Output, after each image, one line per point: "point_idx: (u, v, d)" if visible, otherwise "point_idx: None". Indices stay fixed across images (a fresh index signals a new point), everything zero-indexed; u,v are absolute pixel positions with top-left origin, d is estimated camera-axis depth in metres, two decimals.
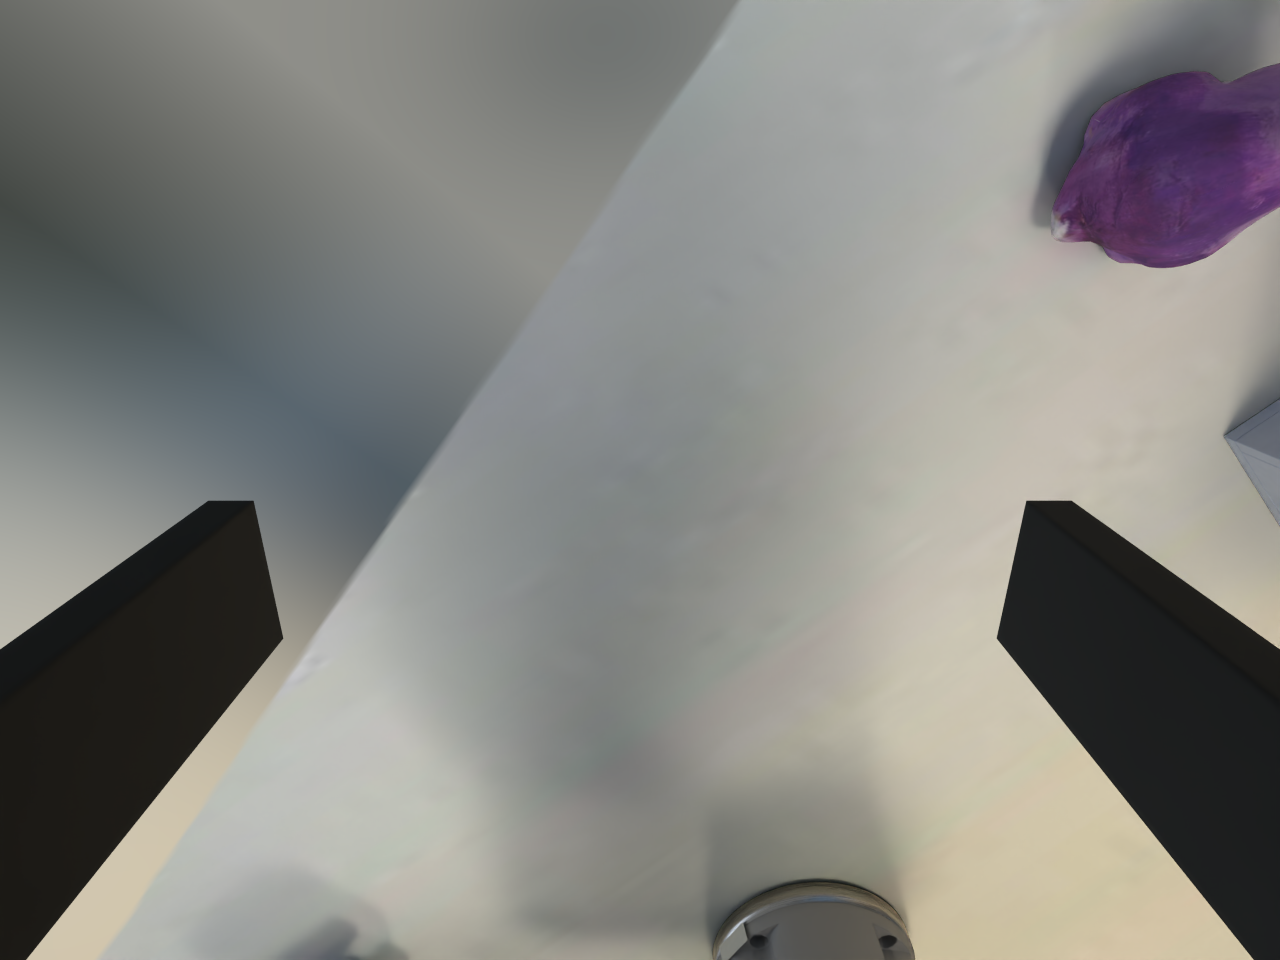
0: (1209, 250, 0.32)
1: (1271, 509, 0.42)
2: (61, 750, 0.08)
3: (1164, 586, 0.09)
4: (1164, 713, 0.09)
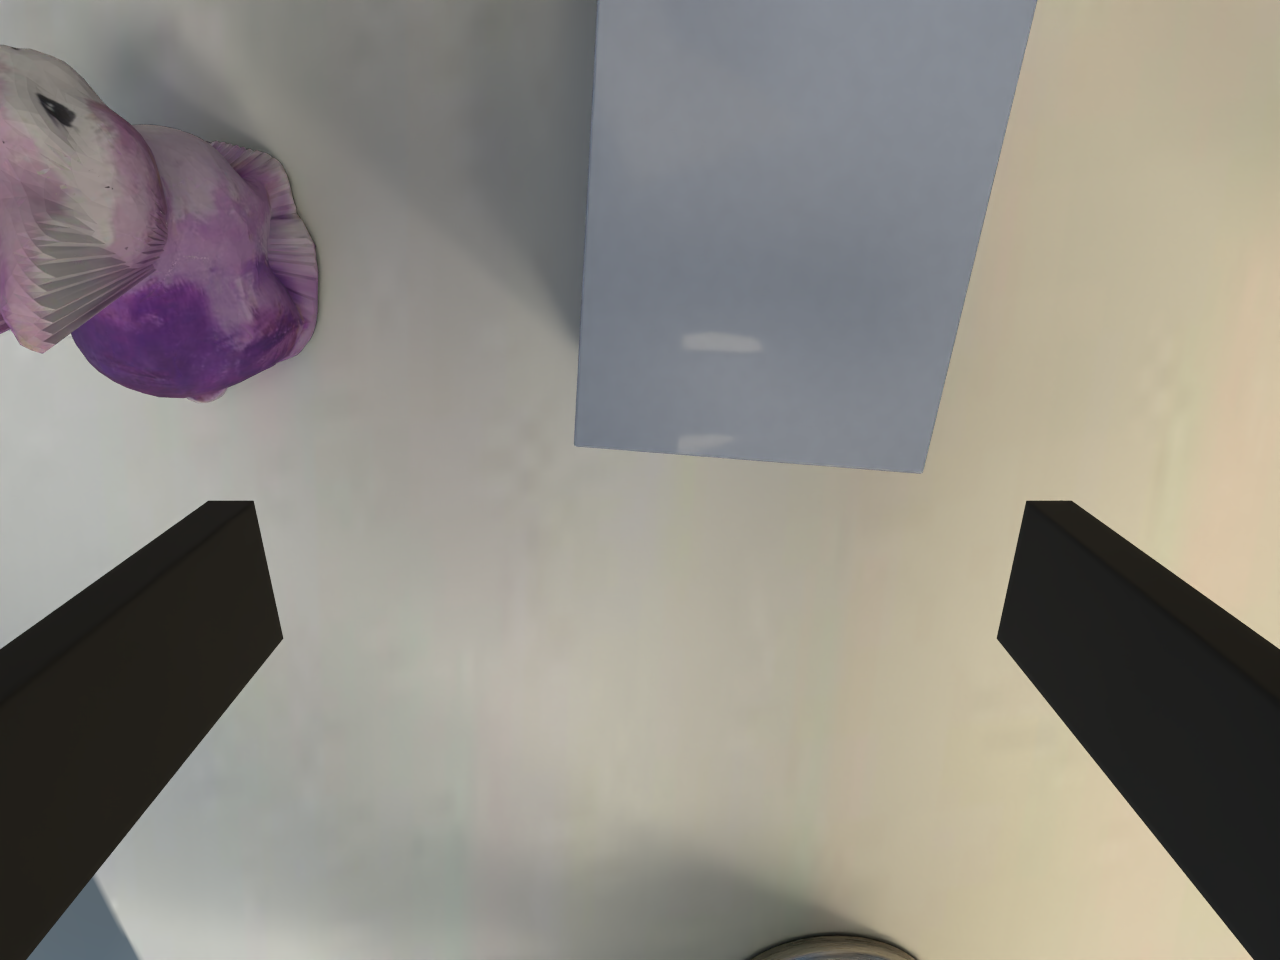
0: (240, 343, 0.27)
1: None
2: (61, 750, 0.08)
3: (1164, 586, 0.09)
4: (1164, 712, 0.09)
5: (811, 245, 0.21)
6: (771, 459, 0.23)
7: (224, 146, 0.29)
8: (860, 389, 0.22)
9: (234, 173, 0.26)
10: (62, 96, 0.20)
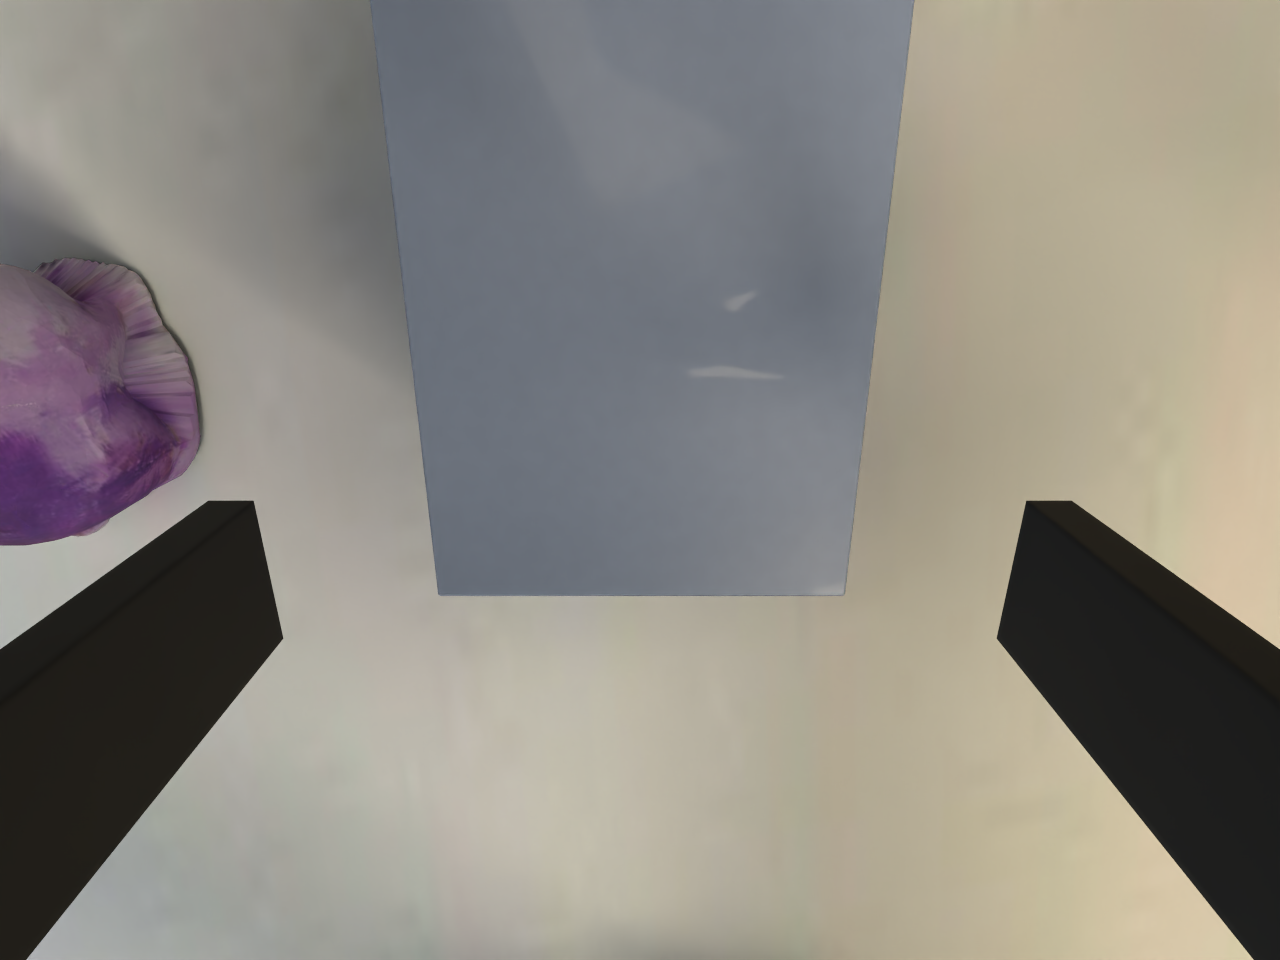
0: (94, 484, 0.25)
1: None
2: (61, 750, 0.08)
3: (1164, 586, 0.09)
4: (1163, 713, 0.09)
5: (676, 357, 0.17)
6: (666, 593, 0.20)
7: (74, 263, 0.27)
8: (758, 510, 0.19)
9: (63, 303, 0.23)
10: None
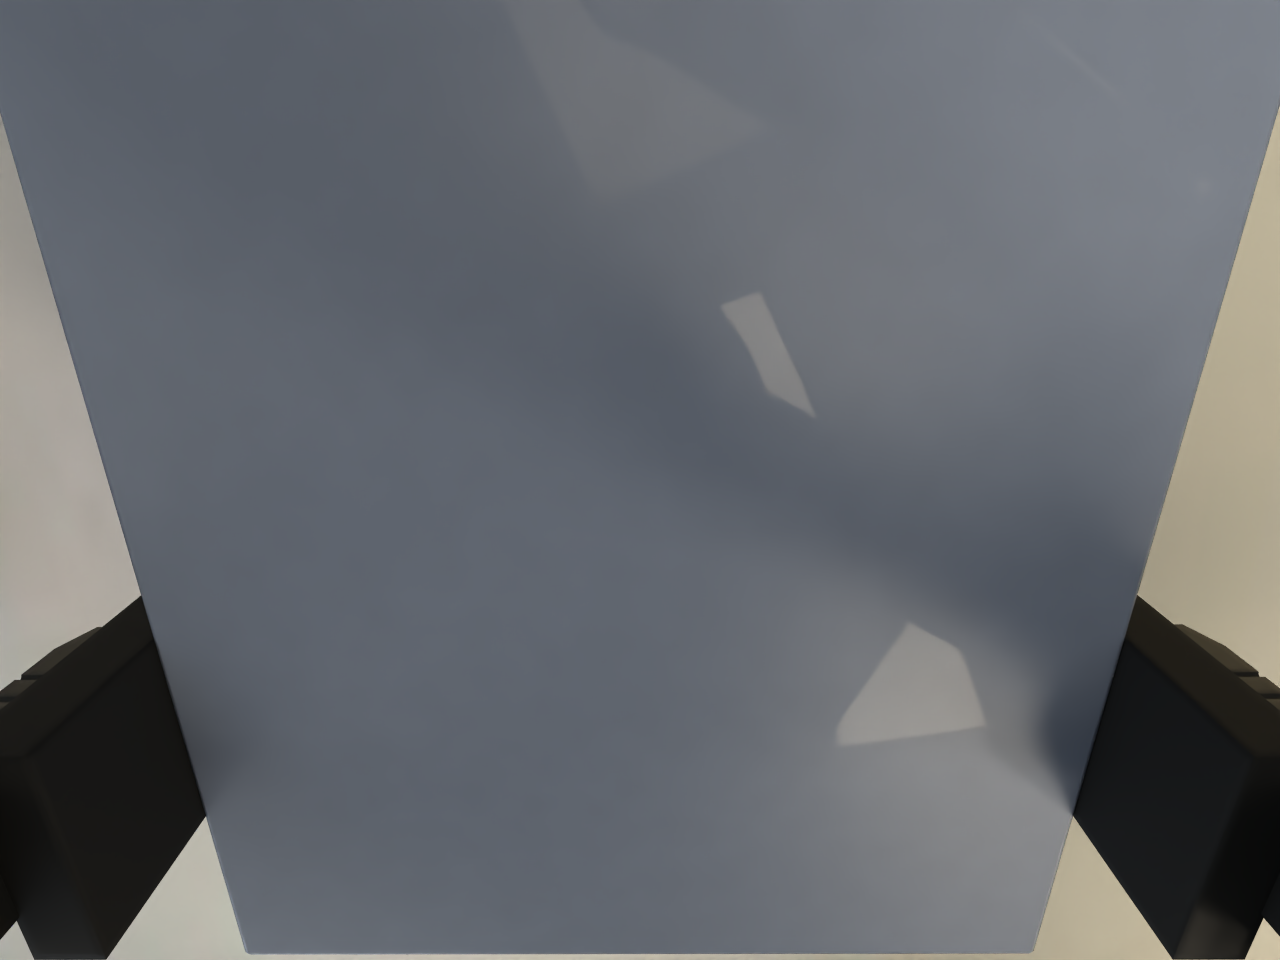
0: None
1: None
2: (171, 711, 0.09)
3: None
4: None
5: (718, 535, 0.08)
6: (688, 950, 0.10)
7: None
8: (877, 818, 0.09)
9: None
10: None
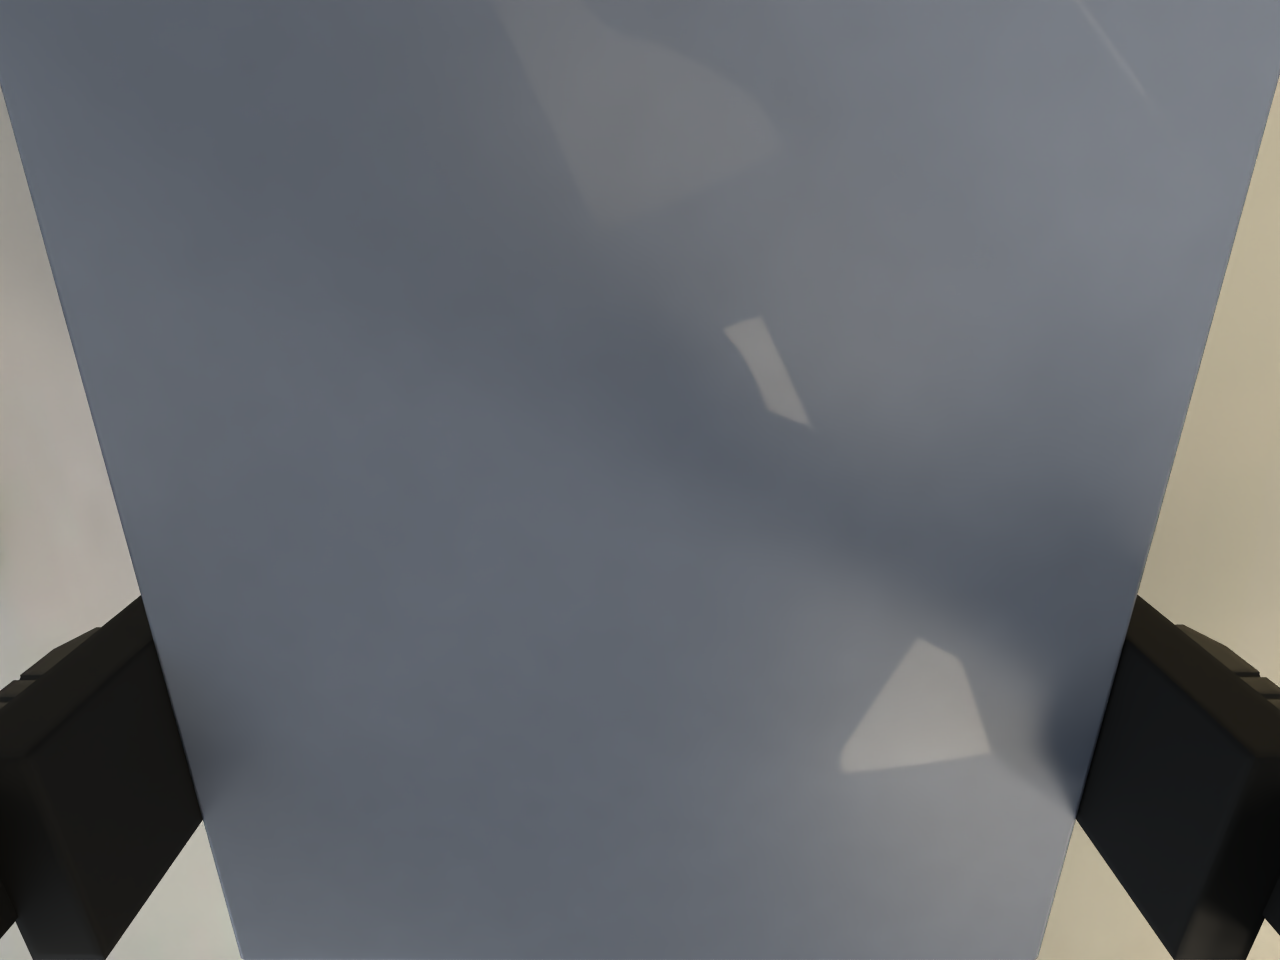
0: None
1: None
2: (170, 712, 0.09)
3: None
4: None
5: (717, 532, 0.08)
6: (688, 956, 0.10)
7: None
8: (879, 820, 0.09)
9: None
10: None
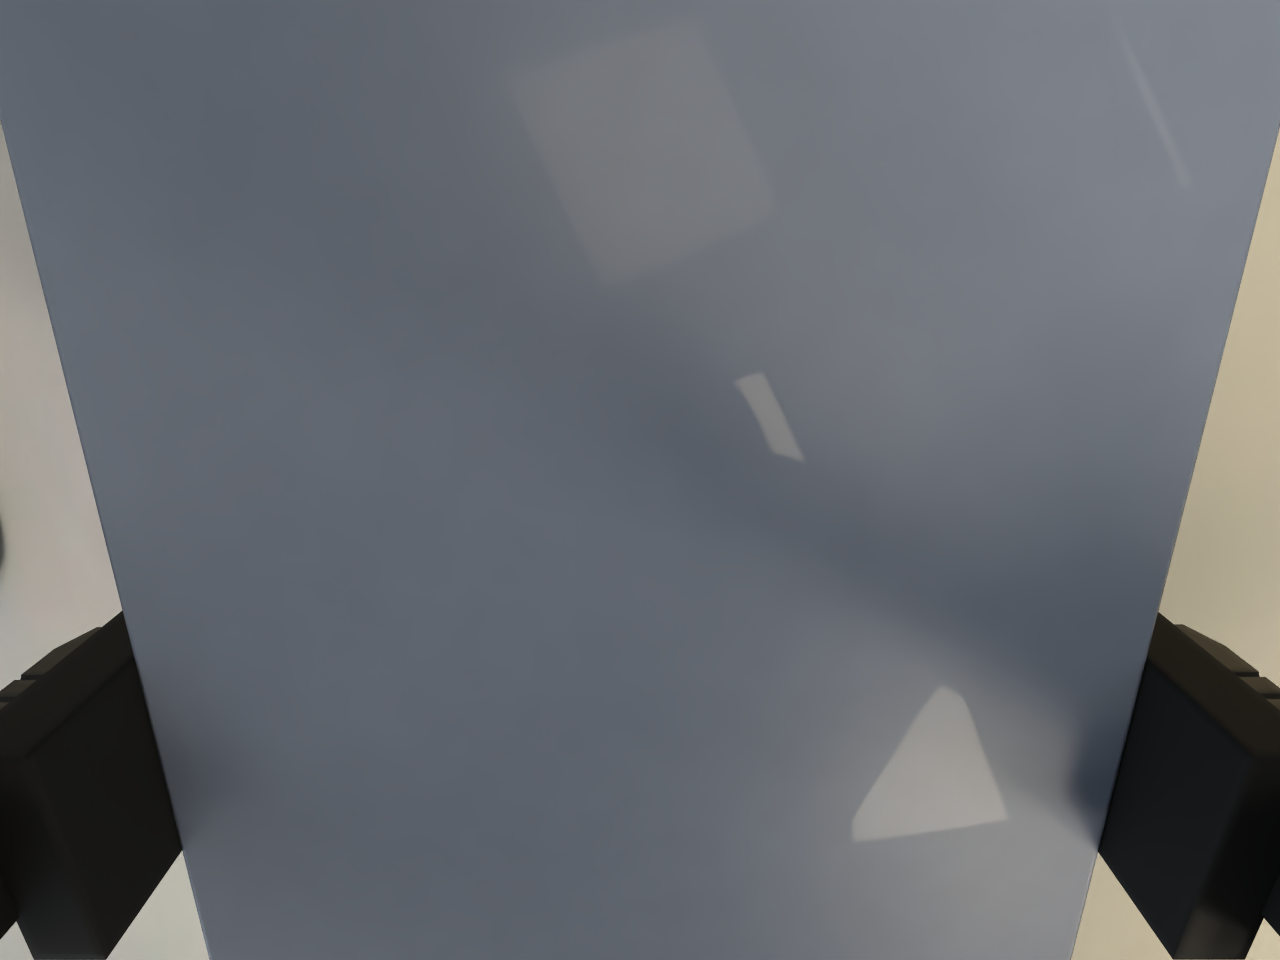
0: None
1: None
2: None
3: None
4: None
5: (721, 520, 0.07)
6: None
7: None
8: (893, 833, 0.09)
9: None
10: None
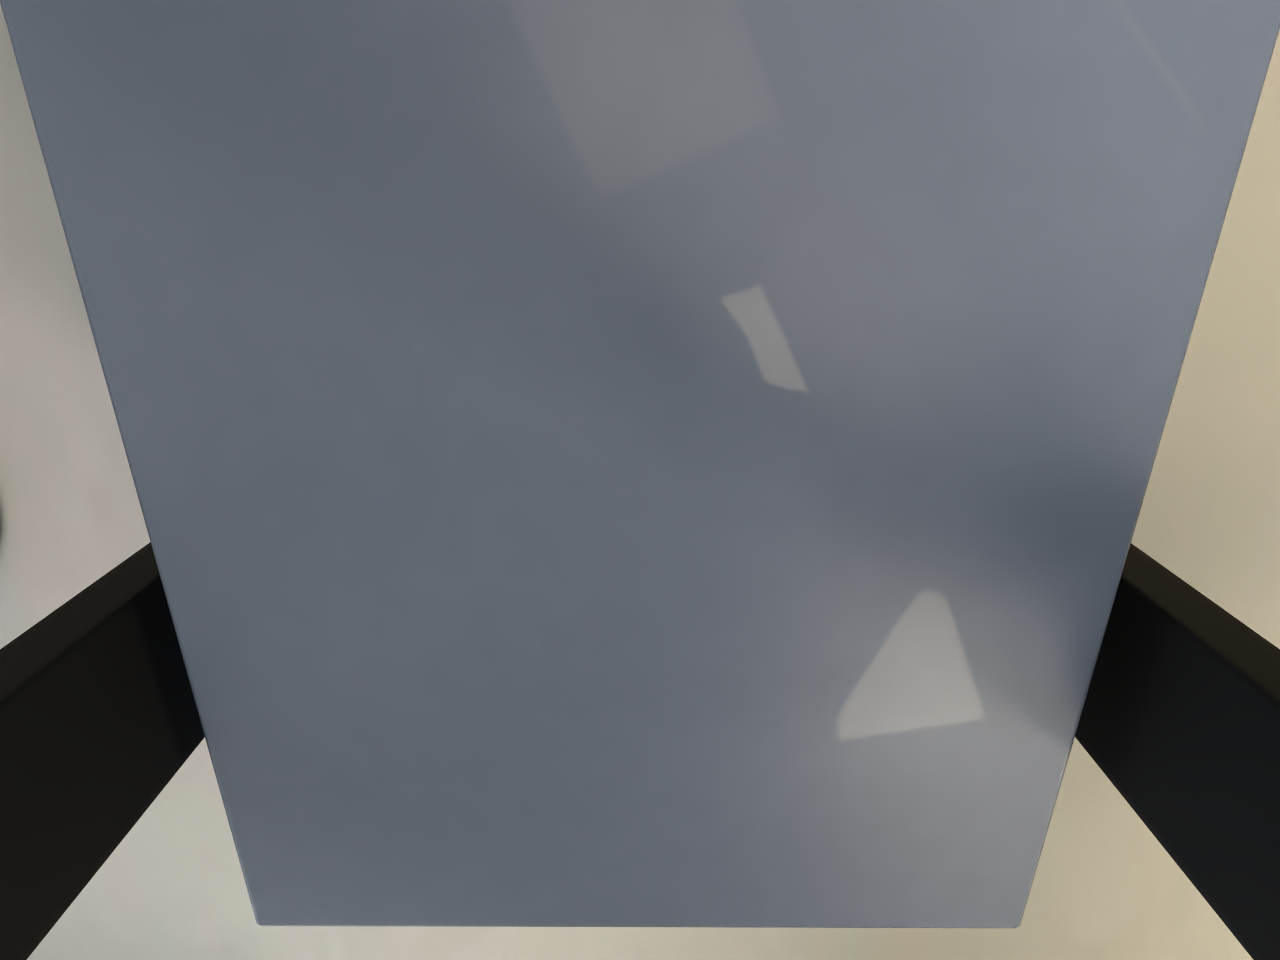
0: None
1: None
2: (61, 750, 0.08)
3: (1163, 586, 0.09)
4: (1163, 713, 0.09)
5: (716, 519, 0.08)
6: (685, 924, 0.11)
7: None
8: (869, 795, 0.10)
9: None
10: None
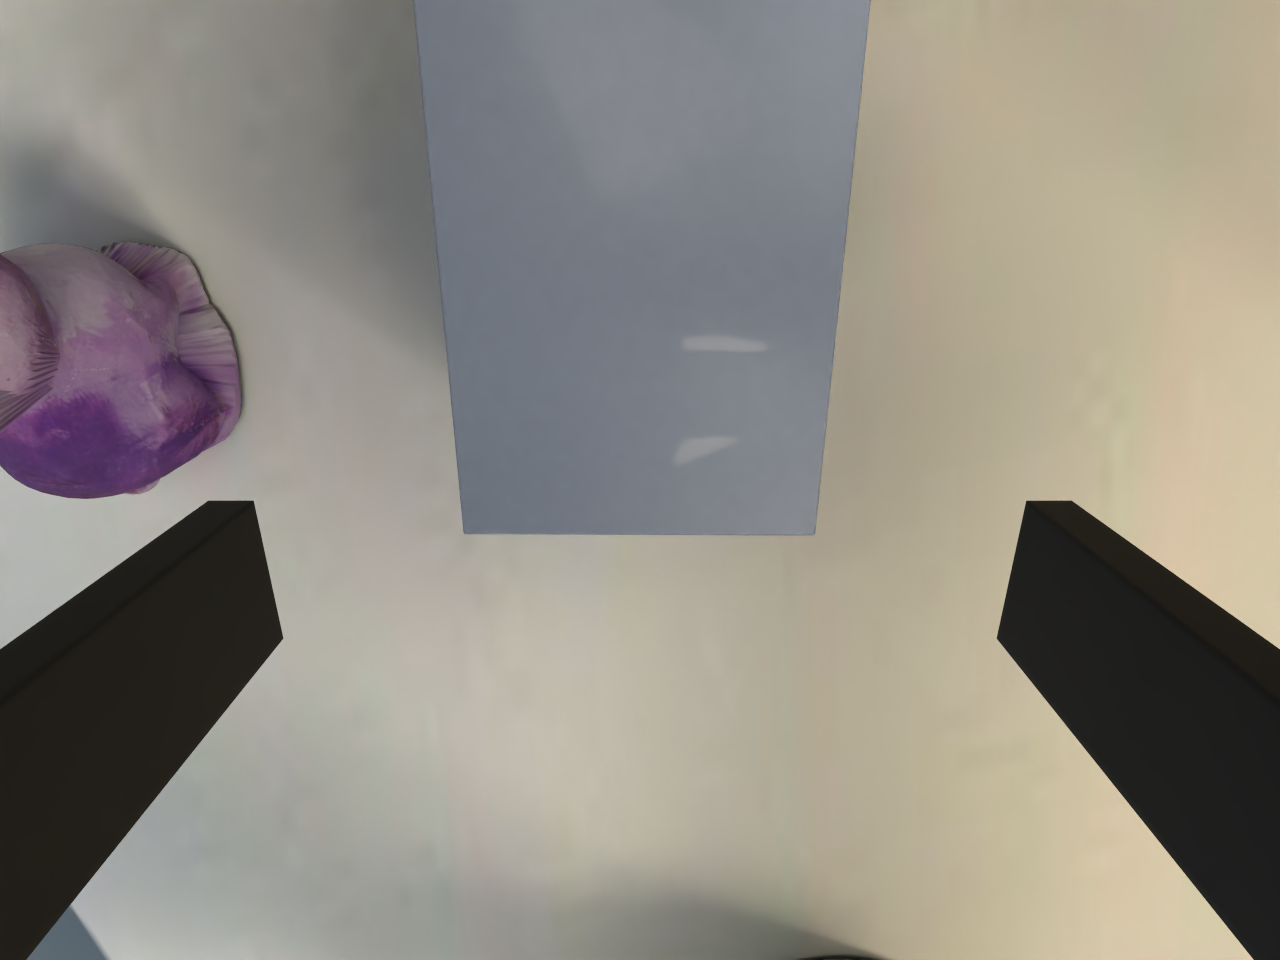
0: (154, 443, 0.28)
1: None
2: (61, 750, 0.08)
3: (1164, 586, 0.09)
4: (1163, 713, 0.09)
5: (670, 326, 0.20)
6: (661, 532, 0.23)
7: (131, 246, 0.30)
8: (740, 459, 0.22)
9: (129, 281, 0.26)
10: None
